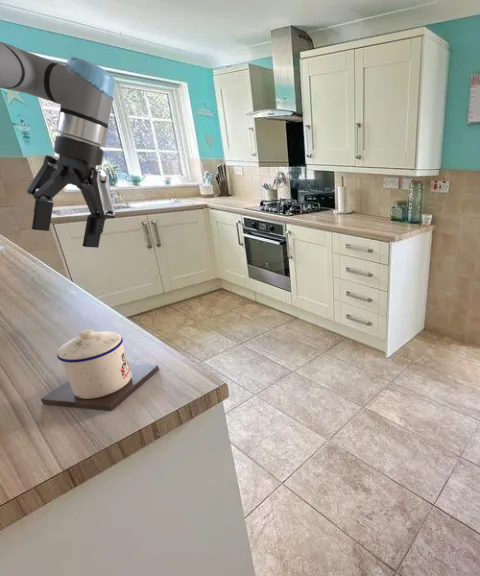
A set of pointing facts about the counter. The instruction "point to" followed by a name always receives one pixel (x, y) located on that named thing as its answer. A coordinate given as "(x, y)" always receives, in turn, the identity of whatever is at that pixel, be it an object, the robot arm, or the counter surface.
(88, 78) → the robot arm
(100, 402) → the serving board
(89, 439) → the counter surface
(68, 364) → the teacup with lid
